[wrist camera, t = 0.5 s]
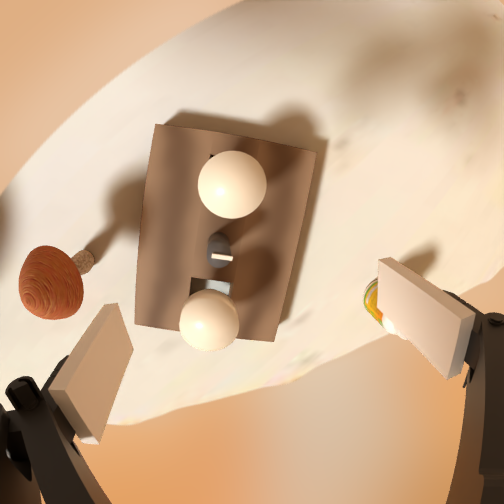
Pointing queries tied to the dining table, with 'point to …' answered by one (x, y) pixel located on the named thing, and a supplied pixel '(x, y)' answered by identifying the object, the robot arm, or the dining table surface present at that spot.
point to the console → (218, 230)
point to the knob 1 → (232, 184)
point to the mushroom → (53, 282)
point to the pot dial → (218, 250)
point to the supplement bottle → (371, 307)
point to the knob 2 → (209, 320)
